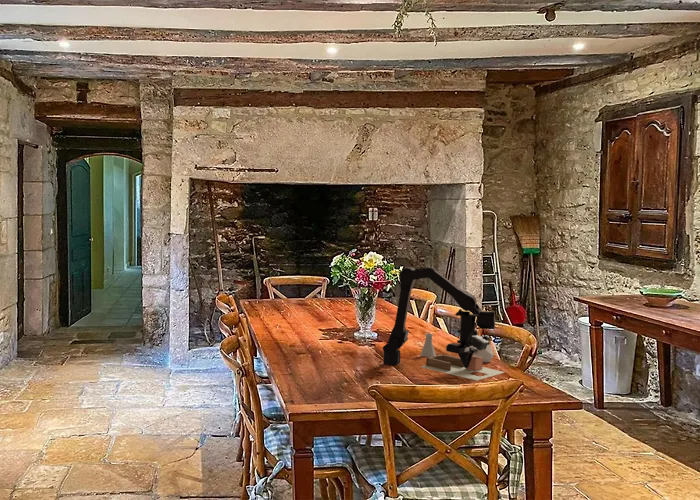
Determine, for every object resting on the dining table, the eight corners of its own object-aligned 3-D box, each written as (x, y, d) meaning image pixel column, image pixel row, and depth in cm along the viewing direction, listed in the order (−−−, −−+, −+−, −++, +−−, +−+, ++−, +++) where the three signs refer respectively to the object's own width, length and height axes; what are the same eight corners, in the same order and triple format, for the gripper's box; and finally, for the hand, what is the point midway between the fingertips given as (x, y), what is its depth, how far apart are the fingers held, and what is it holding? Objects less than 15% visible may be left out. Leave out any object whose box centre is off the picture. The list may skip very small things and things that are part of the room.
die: (469, 361, 290) (465, 346, 284) (485, 350, 292) (482, 335, 286) (482, 373, 283) (478, 357, 278) (498, 361, 286) (495, 345, 280)
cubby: (448, 370, 266) (449, 363, 266) (426, 365, 274) (426, 357, 274) (464, 366, 273) (464, 359, 273) (441, 361, 281) (442, 354, 281)
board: (476, 383, 253) (476, 380, 253) (420, 369, 271) (420, 366, 271) (505, 375, 266) (505, 372, 266) (450, 362, 285) (450, 359, 285)
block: (475, 370, 267) (475, 359, 267) (465, 368, 270) (466, 357, 270) (482, 369, 270) (482, 357, 270) (472, 366, 273) (473, 355, 273)
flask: (438, 356, 295) (438, 333, 294) (435, 360, 288) (436, 336, 287) (421, 355, 297) (421, 332, 296) (418, 359, 290) (418, 335, 289)
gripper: (470, 333, 254) (468, 375, 255) (499, 328, 267) (497, 368, 269) (445, 329, 262) (444, 370, 263) (475, 323, 275) (473, 362, 276)
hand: (466, 367), depth 268 cm, fingers closed
